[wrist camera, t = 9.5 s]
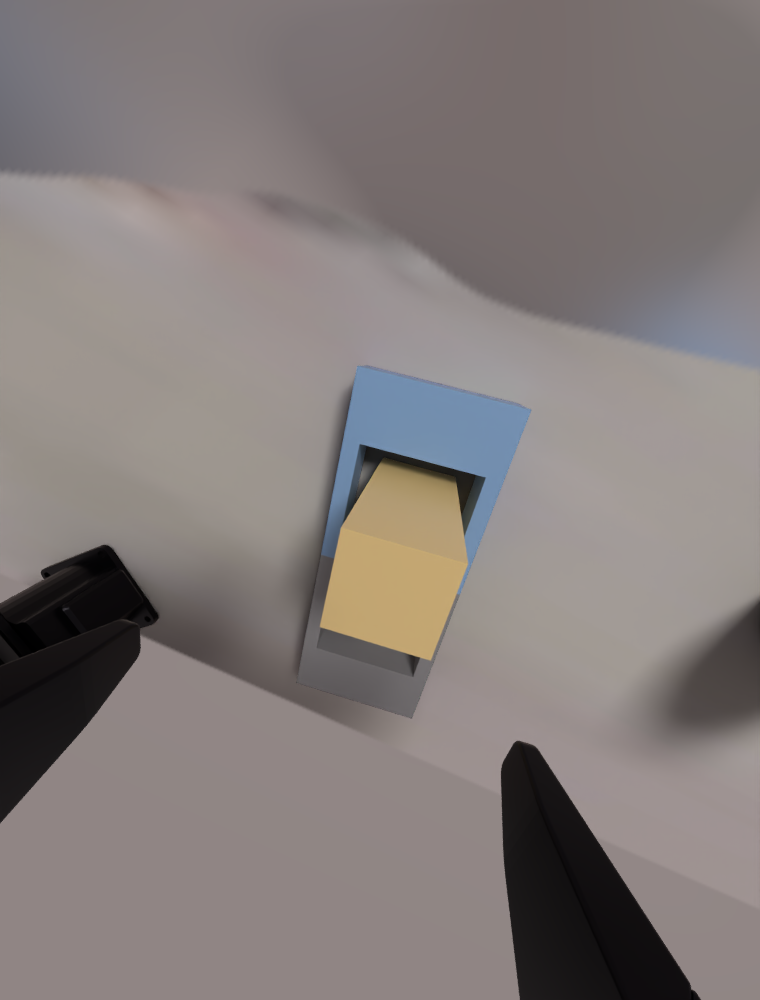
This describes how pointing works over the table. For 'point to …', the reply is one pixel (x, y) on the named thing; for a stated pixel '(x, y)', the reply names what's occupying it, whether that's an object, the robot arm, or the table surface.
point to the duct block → (371, 422)
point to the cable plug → (398, 560)
